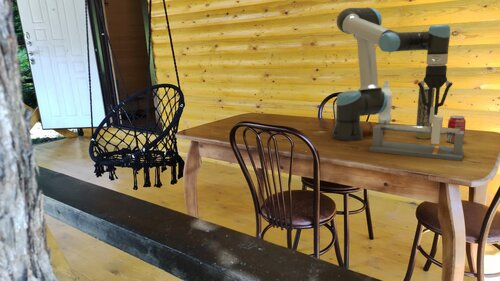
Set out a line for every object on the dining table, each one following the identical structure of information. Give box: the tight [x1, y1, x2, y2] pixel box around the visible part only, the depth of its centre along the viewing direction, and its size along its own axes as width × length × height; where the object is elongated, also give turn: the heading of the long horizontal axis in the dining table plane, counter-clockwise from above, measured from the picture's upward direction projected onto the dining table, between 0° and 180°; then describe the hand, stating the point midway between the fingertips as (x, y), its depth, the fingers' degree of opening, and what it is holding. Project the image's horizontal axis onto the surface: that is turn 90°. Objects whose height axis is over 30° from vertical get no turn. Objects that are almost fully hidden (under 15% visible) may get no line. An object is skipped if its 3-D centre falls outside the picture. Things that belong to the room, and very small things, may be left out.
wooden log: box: [415, 86, 436, 140], centre depth 176 cm, size 7×7×25 cm
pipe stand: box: [368, 124, 465, 162], centre depth 156 cm, size 36×14×10 cm, turn 59°
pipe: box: [377, 122, 460, 136], centre depth 155 cm, size 32×3×3 cm, turn 59°
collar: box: [430, 115, 444, 145], centre depth 151 cm, size 3×9×10 cm, turn 149°
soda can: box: [446, 115, 466, 144], centre depth 168 cm, size 7×7×12 cm
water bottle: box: [377, 80, 393, 124], centre depth 211 cm, size 7×7×25 cm
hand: (431, 122), depth 151 cm, fingers closed
